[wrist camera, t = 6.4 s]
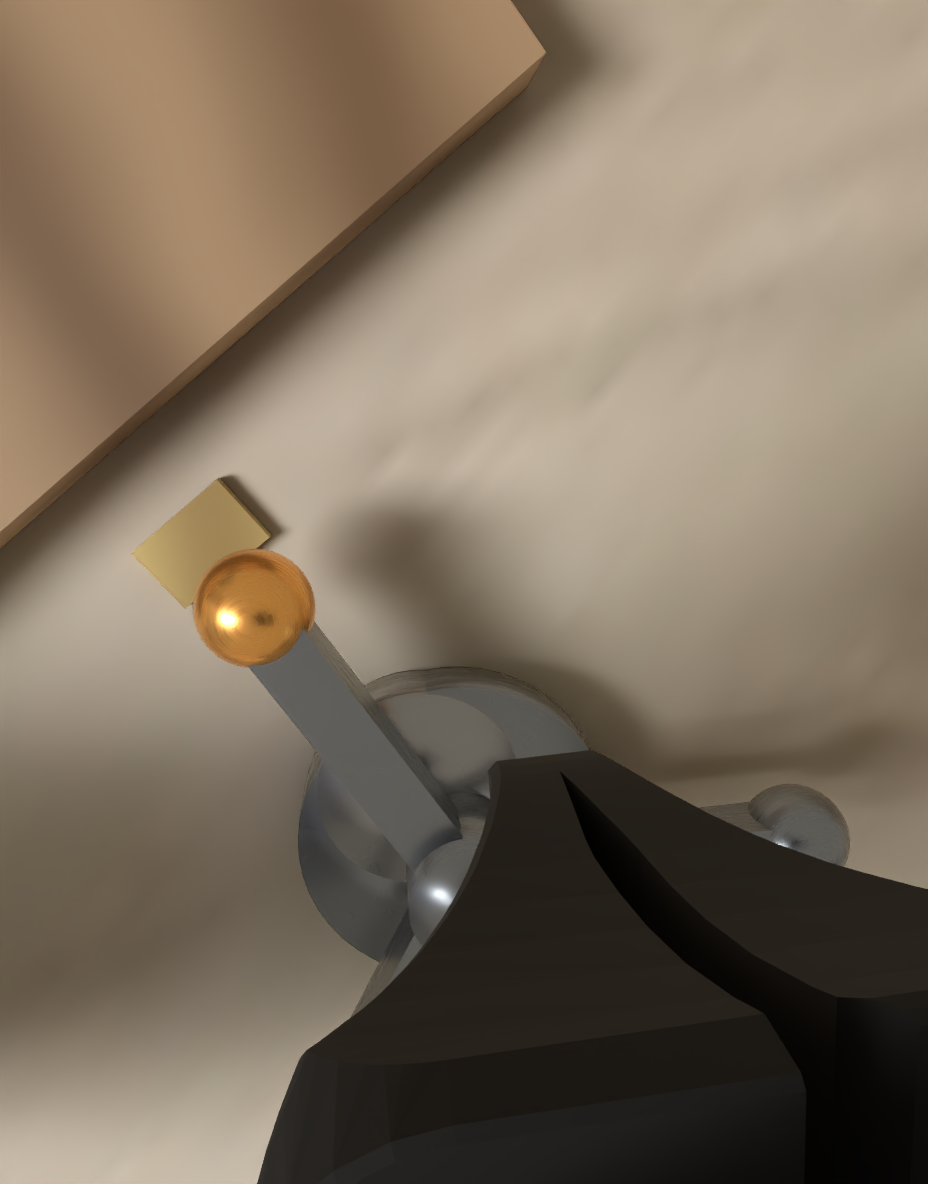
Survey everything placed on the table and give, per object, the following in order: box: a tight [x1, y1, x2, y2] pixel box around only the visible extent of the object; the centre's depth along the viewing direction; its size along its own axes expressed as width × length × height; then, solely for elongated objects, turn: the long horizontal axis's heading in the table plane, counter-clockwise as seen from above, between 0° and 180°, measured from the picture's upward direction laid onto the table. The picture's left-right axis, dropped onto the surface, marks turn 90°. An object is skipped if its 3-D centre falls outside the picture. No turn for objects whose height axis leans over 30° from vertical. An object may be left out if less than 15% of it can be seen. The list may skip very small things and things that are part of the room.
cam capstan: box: [193, 549, 850, 1017], centre depth 19 cm, size 13×14×4 cm
